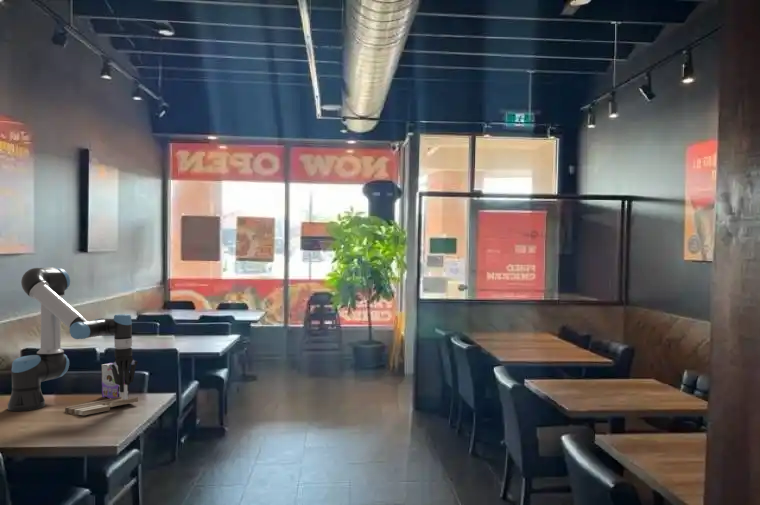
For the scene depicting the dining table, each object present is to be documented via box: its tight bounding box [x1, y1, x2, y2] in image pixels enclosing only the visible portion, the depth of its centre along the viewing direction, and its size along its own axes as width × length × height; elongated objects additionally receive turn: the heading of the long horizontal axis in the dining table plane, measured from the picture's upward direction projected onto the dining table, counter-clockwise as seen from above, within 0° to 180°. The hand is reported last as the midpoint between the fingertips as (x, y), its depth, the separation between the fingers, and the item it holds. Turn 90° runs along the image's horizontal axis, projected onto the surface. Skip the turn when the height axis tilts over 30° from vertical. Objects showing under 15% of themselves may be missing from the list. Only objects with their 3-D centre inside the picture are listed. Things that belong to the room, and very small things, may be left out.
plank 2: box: [105, 397, 139, 408], centre depth 294 cm, size 8×12×2 cm
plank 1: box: [74, 405, 111, 416], centre depth 283 cm, size 8×12×2 cm
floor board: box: [64, 397, 130, 415], centre depth 293 cm, size 8×27×2 cm, turn 141°
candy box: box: [100, 362, 129, 399], centre depth 313 cm, size 14×6×16 cm, turn 58°
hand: (124, 398), depth 292 cm, fingers closed
